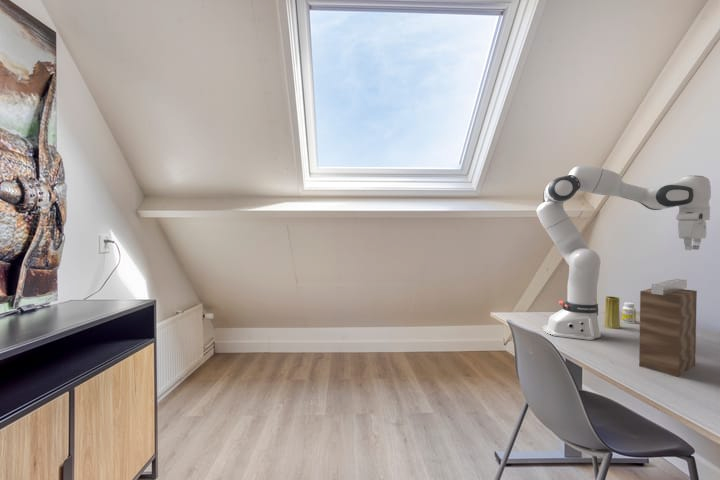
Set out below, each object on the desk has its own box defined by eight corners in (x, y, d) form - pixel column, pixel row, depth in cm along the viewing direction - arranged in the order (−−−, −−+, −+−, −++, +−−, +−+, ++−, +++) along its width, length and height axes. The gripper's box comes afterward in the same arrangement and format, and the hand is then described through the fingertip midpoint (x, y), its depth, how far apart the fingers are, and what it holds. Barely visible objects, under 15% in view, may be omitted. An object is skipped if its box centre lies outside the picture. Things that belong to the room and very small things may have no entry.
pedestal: (678, 377, 104) (679, 296, 103) (639, 366, 112) (640, 291, 112) (695, 365, 112) (696, 290, 111) (657, 356, 121) (658, 286, 120)
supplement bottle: (627, 323, 162) (627, 304, 161) (619, 320, 167) (619, 302, 167) (638, 323, 162) (638, 304, 161) (629, 320, 167) (629, 301, 167)
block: (663, 295, 105) (663, 285, 105) (651, 293, 108) (651, 284, 107) (686, 288, 116) (686, 279, 116) (675, 286, 119) (675, 278, 119)
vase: (623, 329, 153) (623, 299, 153) (608, 328, 154) (608, 298, 154) (615, 325, 159) (615, 296, 159) (601, 324, 160) (601, 296, 160)
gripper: (691, 216, 141) (689, 248, 141) (674, 215, 130) (673, 249, 131) (712, 216, 135) (710, 249, 136) (696, 214, 125) (695, 251, 125)
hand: (692, 249), depth 133 cm, fingers open, 8 cm apart
